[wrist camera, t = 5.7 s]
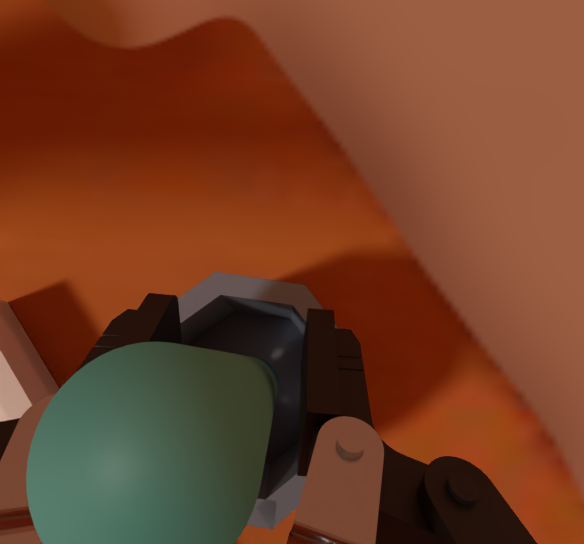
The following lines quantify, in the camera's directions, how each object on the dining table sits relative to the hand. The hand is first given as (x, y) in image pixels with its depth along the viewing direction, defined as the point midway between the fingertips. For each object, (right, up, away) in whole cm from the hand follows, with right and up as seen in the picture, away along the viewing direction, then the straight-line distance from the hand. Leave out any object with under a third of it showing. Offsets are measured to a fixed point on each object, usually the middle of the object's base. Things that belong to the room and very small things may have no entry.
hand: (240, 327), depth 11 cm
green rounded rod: (0, -3, +6) cm, 7 cm away
